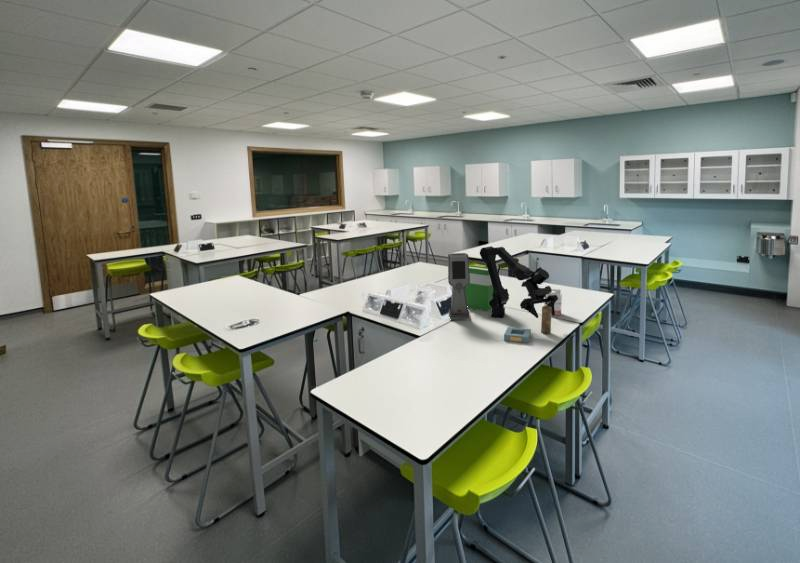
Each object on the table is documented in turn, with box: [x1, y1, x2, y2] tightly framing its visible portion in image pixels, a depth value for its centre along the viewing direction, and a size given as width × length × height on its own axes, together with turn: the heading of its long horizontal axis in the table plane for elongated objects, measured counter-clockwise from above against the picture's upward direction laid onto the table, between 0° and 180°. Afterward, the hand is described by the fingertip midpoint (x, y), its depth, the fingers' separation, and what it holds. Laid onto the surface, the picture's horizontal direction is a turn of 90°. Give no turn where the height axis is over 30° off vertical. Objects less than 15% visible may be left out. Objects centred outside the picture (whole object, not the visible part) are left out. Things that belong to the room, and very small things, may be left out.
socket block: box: [503, 326, 532, 344], centre depth 206 cm, size 11×11×3 cm
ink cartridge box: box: [544, 288, 563, 316], centre depth 238 cm, size 9×5×15 cm, turn 62°
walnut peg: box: [540, 306, 552, 335], centre depth 210 cm, size 4×4×13 cm
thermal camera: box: [447, 252, 471, 321], centre depth 237 cm, size 12×13×35 cm
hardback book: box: [466, 264, 493, 312], centre depth 255 cm, size 18×7×24 cm, turn 47°
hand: (546, 316), depth 210 cm, fingers open, 9 cm apart
